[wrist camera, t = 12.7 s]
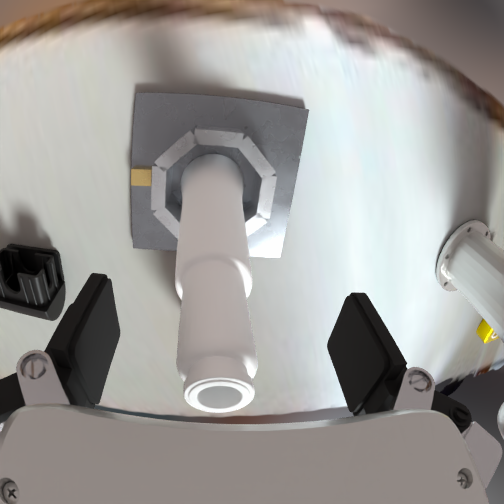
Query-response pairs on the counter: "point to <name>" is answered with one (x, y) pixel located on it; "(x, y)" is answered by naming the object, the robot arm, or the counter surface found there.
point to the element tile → (486, 332)
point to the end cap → (32, 281)
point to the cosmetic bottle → (214, 288)
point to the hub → (213, 142)
